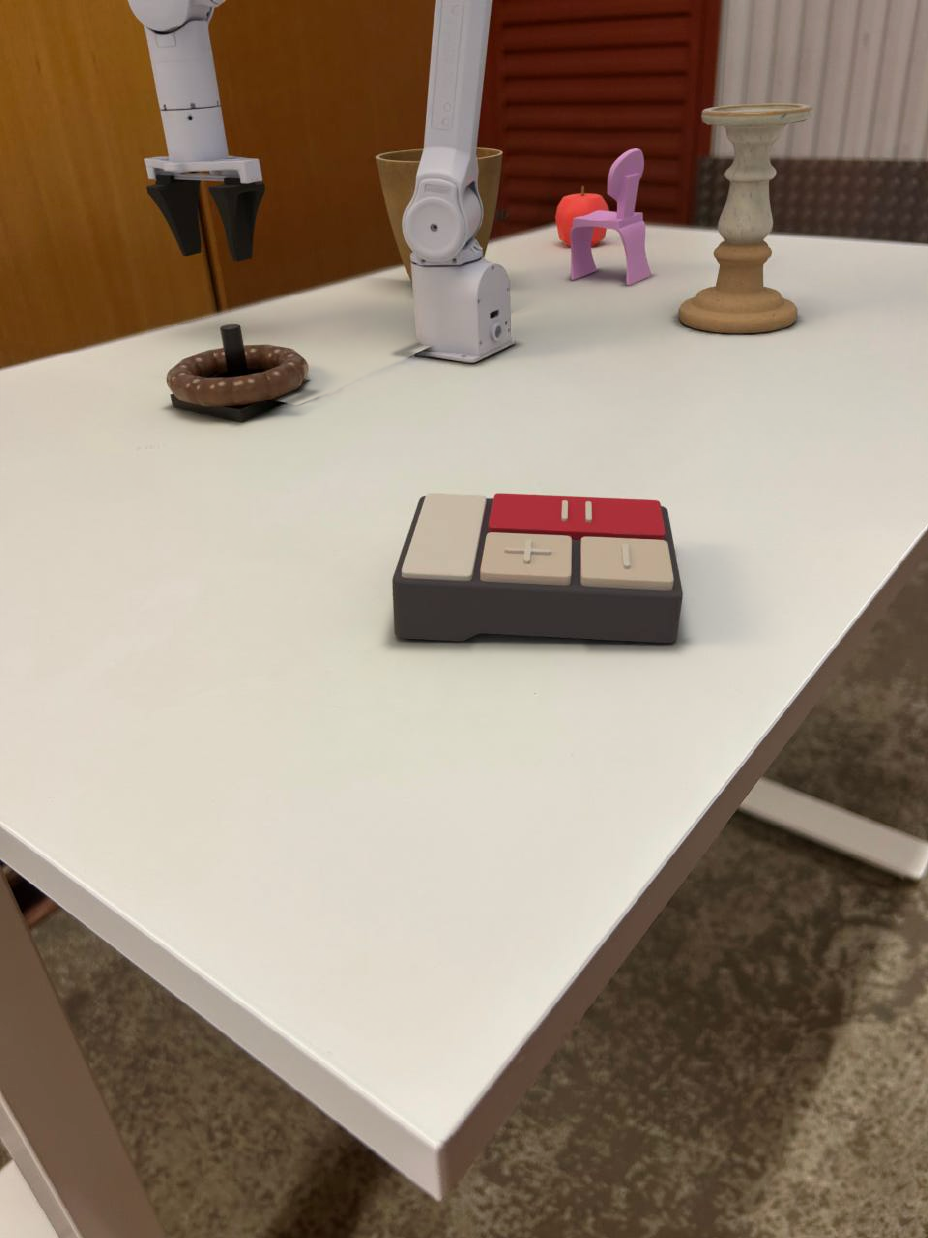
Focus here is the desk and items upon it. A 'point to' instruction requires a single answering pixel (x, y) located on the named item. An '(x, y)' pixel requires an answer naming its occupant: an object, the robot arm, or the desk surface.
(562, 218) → the apple
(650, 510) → the calculator
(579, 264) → the toy chair
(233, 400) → the ring
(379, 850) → the desk surface
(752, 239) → the candle holder
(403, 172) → the plant pot
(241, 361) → the peg stand
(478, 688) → the desk surface
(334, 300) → the desk surface
